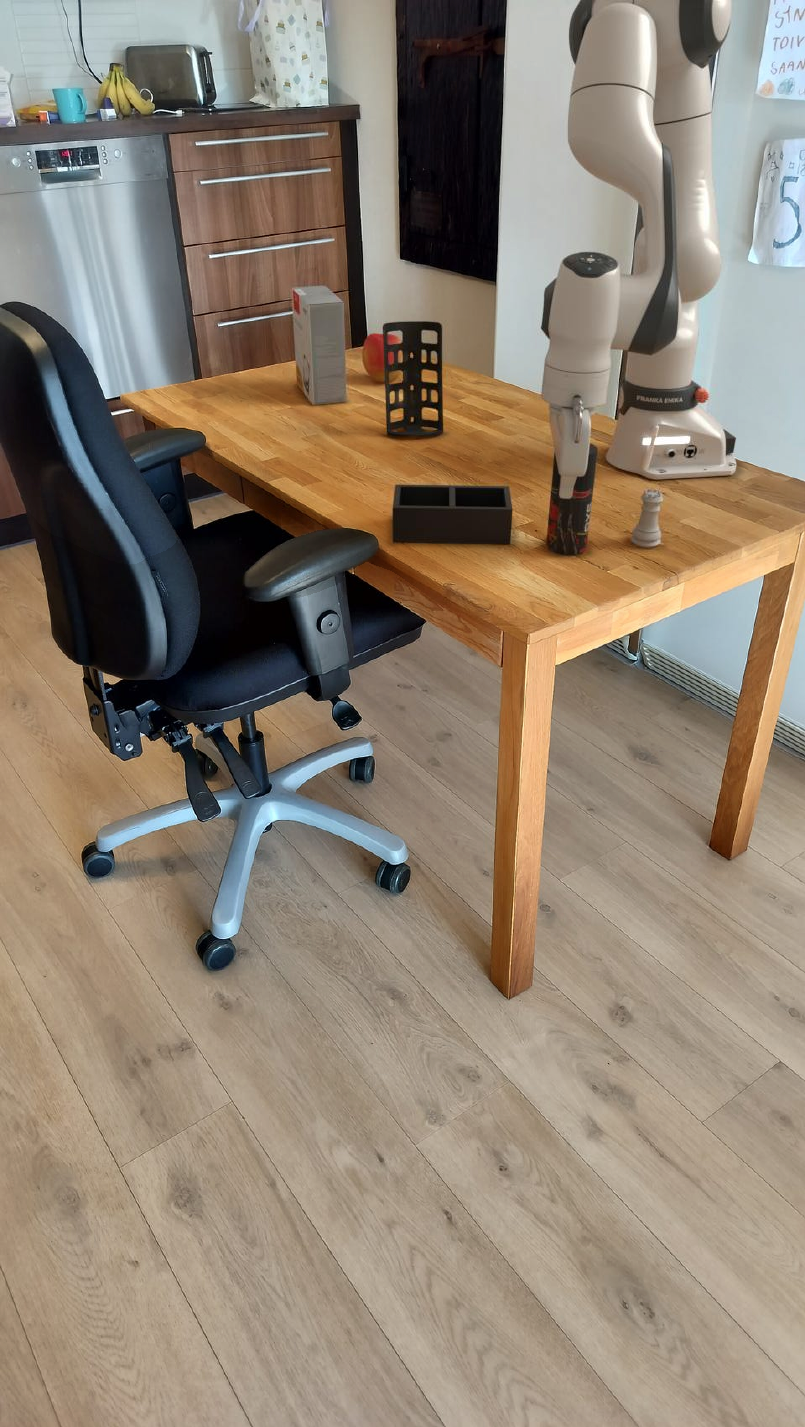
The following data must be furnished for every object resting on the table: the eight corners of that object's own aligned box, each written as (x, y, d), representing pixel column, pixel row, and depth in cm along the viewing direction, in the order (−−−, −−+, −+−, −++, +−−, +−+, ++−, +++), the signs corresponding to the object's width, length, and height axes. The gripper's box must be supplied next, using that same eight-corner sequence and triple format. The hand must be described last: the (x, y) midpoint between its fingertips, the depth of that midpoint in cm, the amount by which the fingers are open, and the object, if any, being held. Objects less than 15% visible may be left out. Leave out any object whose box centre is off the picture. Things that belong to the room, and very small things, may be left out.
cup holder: (395, 518, 156) (395, 484, 153) (506, 520, 155) (509, 486, 152) (392, 543, 148) (392, 507, 145) (510, 545, 148) (512, 509, 145)
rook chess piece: (656, 536, 150) (664, 485, 146) (663, 548, 147) (672, 497, 142) (627, 536, 150) (634, 486, 146) (633, 549, 147) (641, 497, 142)
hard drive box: (295, 385, 215) (290, 286, 204) (330, 382, 217) (326, 284, 206) (312, 406, 203) (307, 302, 192) (348, 402, 205) (345, 300, 194)
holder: (390, 440, 185) (388, 326, 175) (380, 432, 191) (378, 321, 182) (447, 436, 187) (448, 323, 178) (435, 428, 194) (435, 318, 184)
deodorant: (585, 557, 144) (596, 456, 136) (544, 553, 145) (553, 453, 137) (587, 540, 149) (598, 442, 141) (547, 537, 150) (556, 439, 142)
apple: (375, 389, 213) (374, 341, 207) (355, 378, 220) (354, 331, 214) (414, 383, 217) (415, 335, 211) (393, 372, 224) (393, 326, 218)
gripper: (606, 411, 126) (591, 513, 133) (591, 367, 142) (578, 460, 150) (556, 408, 126) (544, 511, 134) (547, 365, 143) (537, 458, 150)
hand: (562, 484), depth 142 cm, fingers open, 8 cm apart
